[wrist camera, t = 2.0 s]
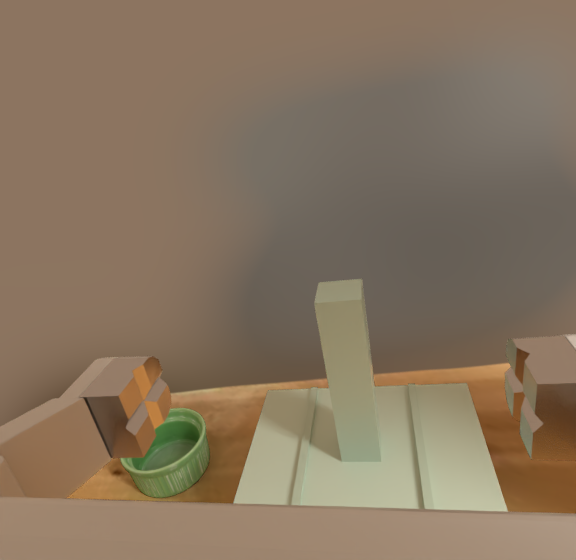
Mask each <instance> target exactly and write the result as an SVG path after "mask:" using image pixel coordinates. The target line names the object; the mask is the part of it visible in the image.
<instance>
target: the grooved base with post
mask: <svg viewBox="0 0 576 560" xmlns="http://www.w3.org/2000/svg"><path fill="white" fill-rule="evenodd" d="M314 305H315V311H316V316H317V322H318V328H319V334H320V340H321V345H322V351H323V357H324V363H325V368H326V373H327V380H328V386H329V388H318V387H311V389H287V390H268V392H267V395H266V398H265V401H264V405H263V408H262V411H261V414H260V418H259V421H258V424H257V427H256V431H255V434H254V437H253V440H252V444H251V447H250V450H249V453H248V456H247V460H246V463H245V466H244V469H243V473H242V476H241V479H240V482H239V486H238V489H237V492H236V495H235V499H234V502H233V503H239V504H274V505H310V506H344V507H376V508H409V509H441V510H473V511H506V512H508V510H507V507H506V504H505V501H504V498H503V495H502V491H501V488H500V485H499V482H498V479H497V476H496V473H495V469H494V466H493V463H492V460H491V457H490V454H489V451H488V448H487V444H486V441H485V438H484V435H483V432H482V429H481V426H480V423H479V419H478V416H477V413H476V410H475V407H474V404H473V401H472V398H471V394H470V391H469V388H468V385H467V383H453V384H426V385H415V384H408V385H398V386H375V384H374V376H373V368H372V359H371V351H370V343H369V334H368V326H367V318H366V309H365V301H364V292H363V285H362V279H355V280H343V281H333V282H321V283H319V284H318V289H317V293H316V297H315V302H314Z"/></svg>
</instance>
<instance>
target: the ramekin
mask: <svg viewBox="0 0 576 560" xmlns="http://www.w3.org/2000/svg"><path fill="white" fill-rule="evenodd" d="M155 433H156V437H155V439H154V441H153V443H152V444H151V446H150V448H149V449H148V451H147V453H146V455H145V456H144V457H140V458H120V461H121V463H122V465H123V467H124V468H125V469H126V470H127V471H128V472H129V473H130V475H131V477H132V478H133V480H134V482H135V484H136V485H137V487H138V489H139V490H140V491H141V492H142V493H144V494H145V495H147V496H150V497H154V498H165V497H170V496H174V495H177V494H179V493H181V492H183V491H185V490H187V489H188V488H190V487H191V486H192V485H194V484H195V483H196V482H197V481H198V480H199V479H200V478H201V476H202V475H203V474H204V472H205V470H206V468H207V466H208V463H209V459H210V451H209V446H208V441H207V437H206V424H205V421H204V419H203V417H202V416H201V415H200V414H199V413H198V412H196V411H194V410H191V409H187V408H173V409H170V411H169V414H168V416H167V418H166V420H165V422H164V423H162V424H161V425H160V426H158V427H157V428H155Z"/></svg>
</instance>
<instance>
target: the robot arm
mask: <svg viewBox="0 0 576 560" xmlns="http://www.w3.org/2000/svg"><path fill="white" fill-rule="evenodd" d="M506 357H507V359H508V361H509V364H510V366H511V367H510V368H509V369H508V370H507V372H506V373H505V392H506V399H507V403H508V406H509V410H510V412H511V414H512V417H513V418H514V419H516V420H517V421H519V422H520V436H521V438H522V440H523V442H524V445H525V447H526V449H527V452H528V454H529V456H530V458H531V460H558V461H576V334H570V335H561V336H548V337H535V338H534V337H533V338H518V339H508V342H507V345H506ZM161 373H162V368H161V365H160V363H159V360H158V359H157V358H155V357H154V356H139V357H118V358H117V357H108V358H100V359H96V360H95V361H94V362H93V363H92V364H91V365H90V366H89V367H88V368H87V369H86V370H85V371H84V373H82V375H81V376H80V377H79V378H78V379H77V380H76V381H75V382H74V383H73V384H72V385H71V386H70V387H69V388H68V389H67V390H66V391H65V392H64V393H63V394H62V396H61V397H60V398H54V399H52V400H50V401H48V402H46V403H44V404H42V405H40V406H38V407H36V408H35V409H33V410H31V411H29V412H27V413H25V414H23V415H21V416H19V417H18V418H16V419H14V420H12V421H10V422H8V423H6V424H4V425H3V426H0V560H576V513H540V512H506V511H473V510H441V509H409V508H376V507H344V506H310V505H274V504H239V503H203V502H168V501H135V500H101V499H68V498H67V497H68V496H70V495H71V494H72V493H73V492H74V491H76V490H77V489H78V488H79V487H80V486H81V485H83V484H84V483H85V482H86V481H87V480H88V479H90V478H91V477H92V476H93V475H94V474H96V473H97V472H98V471H99V470H100V469H101V468H103V467H104V466H105V465H106V464H107V463H109V462H110V461H111V458H140V457H144V456H145V455H146V453H147V451H148V449H149V448H150V446H151V444H152V443H153V441H154V439H155V437H156V433H155V428H157V427H158V426H160V425H161V424H162V423H164V422H165V420H166V418H167V416H168V414H169V411H170V405H171V395H170V390H169V387H168V385H167V384H166V383H165V382H164V381H163V380H162V379H161V378H159V377H160V375H161Z"/></svg>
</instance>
